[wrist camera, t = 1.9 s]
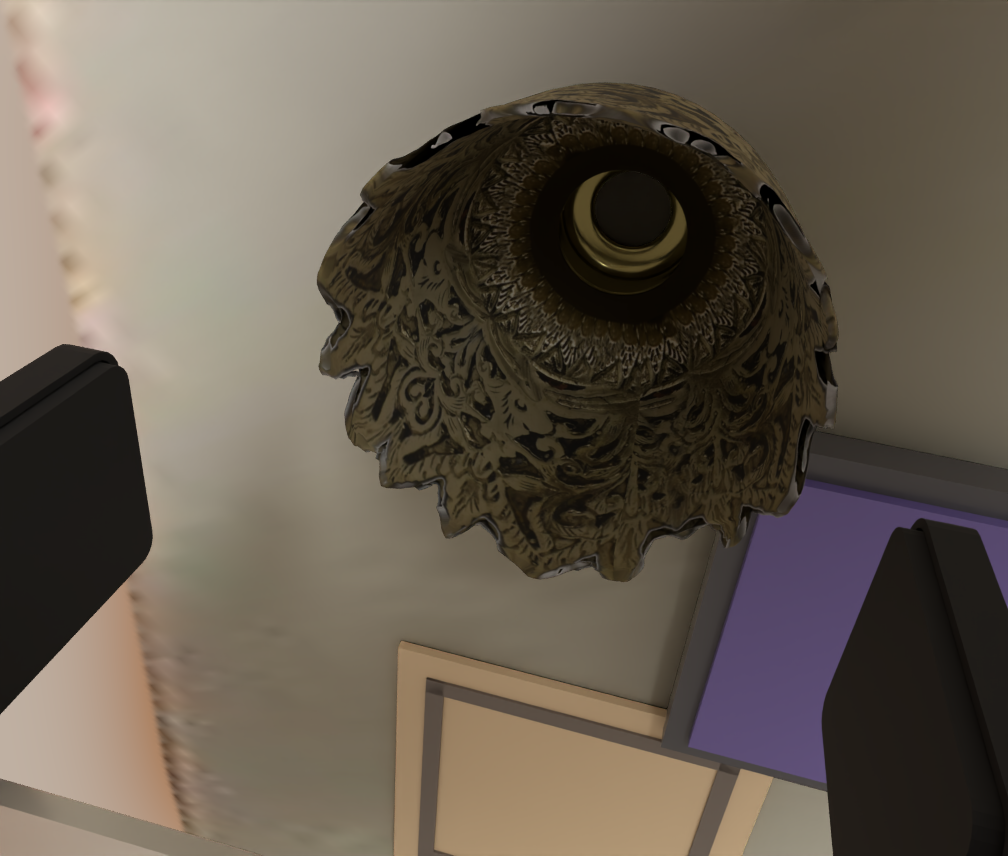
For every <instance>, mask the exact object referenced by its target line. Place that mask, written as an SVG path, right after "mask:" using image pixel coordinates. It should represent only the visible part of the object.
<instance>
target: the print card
mask: <svg viewBox="0 0 1008 856" xmlns="http://www.w3.org/2000/svg"><path fill="white" fill-rule="evenodd" d="M666 714H667V710H666V709H662V708H658V707H655V706H651V705H647V704H643V703H639V702H635V701H631V700H628V699H624V698H620V697H616V696H612V695H608V694H605V693H601V692H597V691H593V690H589V689H585V688H581V687H578V686H574V685H570V684H566V683H562V682H558V681H554V680H551V679H547V678H543V677H539V676H535V675H531V674H528V673H524V672H520V671H516V670H512V669H508V668H504V667H501V666H497V665H493V664H489V663H485V662H481V661H477V660H474V659H470V658H466V657H462V656H458V655H454V654H451V653H447V652H443V651H439V650H435V649H431V648H427V647H424V646H420V645H416V644H412V643H408V642H404V641H401V642H400V645H399V647H398V674H397V722H396V771H395V820H394V856H742V854H743V851H744V849H745V846H746V844H747V841H748V839H749V837H750V834H751V832H752V829H753V827H754V824H755V822H756V819H757V817H758V814H759V812H760V809H761V807H762V805H763V802H764V800H765V797H766V795H767V792H768V790H769V787H770V785H771V782H772V780H773V777H770V776H767V775H763V774H759V773H755V772H752V771H748V770H744V769H740V768H737V767H733V766H729V765H725V764H722V763H718V762H714V761H711V760H707V759H703V758H699V757H696V756H692V755H688V754H684V753H681V752H677V751H673V750H669V749H666V748H662V747H661V740H662V733H663V727H664V723H665V720H666Z"/></svg>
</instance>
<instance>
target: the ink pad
mask: <svg viewBox="0 0 1008 856" xmlns="http://www.w3.org/2000/svg"><path fill="white" fill-rule="evenodd" d="M920 518H925V519H929V520H934V521H939V522H944V523H949V524H954V525H959V526H964V527H969V528H973V529H975V530H977V531H978V533H979V534H980V536H981V539H982V541H983V544H984V547H985V549H986V552H987V555H988V557H989V560H990V563H991V565H992V568H993V571H994V573H995V576H996V579H997V581H998V584H999V587H1000V589H1001V592H1002V595H1003V597H1004V600H1005V603H1006V605H1007V608H1008V470H1007V469H1002V468H997V467H992V466H987V465H982V464H977V463H972V462H967V461H962V460H957V459H952V458H947V457H942V456H937V455H932V454H927V453H922V452H917V451H912V450H907V449H902V448H897V447H892V446H887V445H882V444H877V443H872V442H867V441H862V440H857V439H852V438H847V437H842V436H837V435H832V434H827V433H822V432H817V431H815V432H814V435H813V439H812V443H811V448H810V458H809V465H808V471H807V475H806V479H805V484H804V487H803V490H802V493H801V495H800V497H799V499H798V500H797V502H796V503H795V505H794V506H793V508H792V509H791V510H790V512H789V513H788V514H787V515H785V516H783V517H780V518H776V517H774V516H771V515H760V514H758V513H753V512H752V514H751V519H750V522H749V527H748V529H747V532H746V534H745V535H744V537H743V538H742V539H741V541H740V542H739V543H738V544H737V545H735V546H734V547H730V548H724V546H723V545H722V543H721V541H720V533H719V532H718V530H717V532H716V536H715V539H714V543H713V546H712V550H711V554H710V557H709V561H708V564H707V568H706V572H705V575H704V579H703V582H702V586H701V590H700V593H699V597H698V600H697V604H696V608H695V611H694V615H693V618H692V622H691V625H690V629H689V633H688V636H687V640H686V643H685V647H684V651H683V654H682V658H681V661H680V665H679V669H678V672H677V676H676V679H675V683H674V687H673V690H672V694H671V697H670V701H669V705H668V708H667V714H666V720H665V723H664V727H663V733H662V740H661V747H662V748H666V749H669V750H673V751H677V752H681V753H684V754H688V755H692V756H696V757H699V758H703V759H707V760H711V761H714V762H718V763H722V764H725V765H729V766H733V767H737V768H740V769H744V770H748V771H752V772H755V773H759V774H763V775H767V776H770V777H774V778H778V779H782V780H785V781H789V782H793V783H797V784H800V785H804V786H808V787H812V788H815V789H819V790H823V791H826V792H827V781H826V770H825V759H824V748H823V737H822V722H821V721H822V710H823V704H824V700H825V696H826V693H827V691H828V688H829V686H830V683H831V681H832V678H833V676H834V673H835V671H836V668H837V666H838V664H839V661H840V659H841V656H842V654H843V651H844V649H845V646H846V644H847V641H848V639H849V637H850V634H851V632H852V629H853V627H854V624H855V622H856V619H857V617H858V614H859V612H860V609H861V607H862V605H863V602H864V600H865V597H866V595H867V592H868V590H869V587H870V585H871V582H872V580H873V578H874V575H875V573H876V570H877V568H878V565H879V563H880V560H881V558H882V555H883V553H884V551H885V548H886V546H887V543H888V541H889V538H890V536H891V534H892V532H893V531H894V530H895V528H897V527H903V528H908V529H911V527H912V525H913V524H914V523H915V521H916V520H917V519H920Z"/></svg>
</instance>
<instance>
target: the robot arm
mask: <svg viewBox="0 0 1008 856" xmlns="http://www.w3.org/2000/svg"><path fill="white" fill-rule="evenodd" d="M152 539H153V534H152V526H151V520H150V513H149V507H148V500H147V494H146V487H145V481H144V475H143V468H142V462H141V455H140V449H139V442H138V436H137V430H136V423H135V417H134V410H133V404H132V397H131V391H130V385H129V379H128V375H127V373H126V371H125V370H124V369H123V368H122V367H120V366H118V362H117V361H116V359H115V358H114V356H113V355H111V354H110V353H108V352H104V351H99V350H94V349H89V348H85V347H80V346H75V345H68V344H62V345H60V346H57V347H55V348H54V349H52V350H51V351H49V352H47V353H46V354H44V355H42V356H41V357H39V358H37V359H36V360H34V361H33V362H31V363H29V364H28V365H26V366H25V367H23V368H21V369H20V370H18V371H17V372H15V373H13V374H12V375H10V376H9V377H7V378H5V379H4V380H2V381H0V714H1V713H2V712H3V711H4V710H5V709H6V708H7V706H8V705H9V704H10V703H11V702H12V701H13V700H14V699H15V698H16V697H17V696H18V695H19V694H20V693H21V692H22V691H23V690H24V688H25V687H26V686H27V685H28V684H29V683H30V682H31V681H32V680H33V679H34V678H35V677H36V676H37V675H38V674H39V672H40V671H41V670H42V669H43V668H44V667H45V666H46V665H47V664H48V663H49V662H50V661H51V660H52V659H53V658H54V656H55V655H56V654H57V653H58V652H59V651H60V650H61V649H62V648H63V647H64V646H65V645H66V644H67V643H68V642H69V640H70V639H71V638H72V637H73V636H74V635H75V634H76V633H77V632H78V631H79V630H80V629H81V628H82V627H83V626H84V625H85V623H86V622H87V621H88V620H89V619H90V618H91V617H92V616H93V615H94V614H95V613H96V612H97V610H98V609H100V607H101V606H102V605H103V604H104V603H105V602H106V601H107V600H108V599H109V598H110V597H111V596H112V595H113V594H114V593H115V591H116V590H117V589H118V588H119V587H120V586H121V585H122V584H123V583H124V582H125V581H126V580H127V579H128V578H129V577H130V575H131V574H132V573H133V572H134V571H135V570H136V569H137V568H138V567H139V566H140V565H141V564H142V563H143V561H144V560H145V559H146V557H147V555H148V553H149V551H150V548H151V545H152ZM821 722H822V737H823V748H824V759H825V770H826V781H827V792H828V803H829V814H830V825H831V836H832V847H833V856H1008V608H1007V605H1006V603H1005V600H1004V597H1003V595H1002V592H1001V589H1000V587H999V584H998V581H997V579H996V576H995V573H994V571H993V568H992V565H991V563H990V560H989V557H988V555H987V552H986V549H985V547H984V544H983V541H982V539H981V536H980V534H979V533H978V531H977V530H975V529H973V528H969V527H964V526H959V525H954V524H949V523H944V522H939V521H934V520H929V519H925V518H920V519H917V520H916V521H915V523H914V524H913V525H912V527H911V529H908V528H903V527H897V528H895V530H894V531H893V532H892V534H891V536H890V538H889V541H888V543H887V546H886V548H885V551H884V553H883V555H882V558H881V560H880V563H879V565H878V568H877V570H876V573H875V575H874V578H873V580H872V582H871V585H870V587H869V590H868V592H867V595H866V597H865V600H864V602H863V605H862V607H861V609H860V612H859V614H858V617H857V619H856V622H855V624H854V627H853V629H852V632H851V634H850V637H849V639H848V641H847V644H846V646H845V649H844V651H843V654H842V656H841V659H840V661H839V664H838V666H837V668H836V671H835V673H834V676H833V678H832V681H831V683H830V686H829V688H828V691H827V693H826V696H825V700H824V704H823V710H822V721H821ZM0 856H263V855H260V854H256V853H253V852H249V851H246V850H243V849H239V848H236V847H233V846H229V845H226V844H222V843H219V842H216V841H212V840H209V839H205V838H202V837H199V836H195V835H192V834H188V833H185V832H182V831H178V830H175V829H171V828H168V827H164V826H161V825H158V824H154V823H151V822H148V821H144V820H141V819H137V818H134V817H130V816H127V815H124V814H120V813H116V812H114V811H110V810H106V809H103V808H100V807H96V806H93V805H89V804H86V803H83V802H79V801H76V800H73V799H69V798H66V797H62V796H58V795H55V794H52V793H48V792H45V791H42V790H38V789H34V788H31V787H28V786H24V785H21V784H17V783H14V782H10V781H7V780H3V779H0Z"/></svg>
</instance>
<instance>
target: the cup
mask: <svg viewBox="0 0 1008 856" xmlns="http://www.w3.org/2000/svg"><path fill="white" fill-rule="evenodd" d="M629 171H634V172H639V173H642V174H645V175H648V176H650V177H652V178H654V179H656V180H657V181H659V182H660V183H661V184H662V186H663V187H664V188H665V190H666V192H667V193H668V196H669V199H670V203H671V215H670V219H669V222H668V225H667V227H666V228H665V230H664V231H663V233H662V234H661V235H660V236H659V237H658V238H656V239H655V240H653V241H652V242H650V243H648V244H645V245H641V246H625V245H621V244H618V243H616V242H614V241H612V240H611V239H610V238H608V237H607V236H606V235H605V234H604V233H603V232H602V230H601V229H600V227H599V225H598V223H597V221H596V217H595V200H596V197H597V194H598V192H599V190H600V189H601V187H602V186H603V185H604V184H605V182H607V181H608V180H609V179H610V178H612V177H613V176H615V175H617V174H620V173H623V172H629ZM360 196H361V198H362V200H363V201H364V203H363V204H362V205H361V206H360V207H359V208H358V210H357V211H356V212H355V214H354V215H353V216H352V217H351V218H350V219H349V220H348V221H347V222H346V223H345V224H344V225H343V226H342V228H341V229H340V231H339V232H338V233H337V235H336V236H335V238H334V240H333V241H332V243H331V245H330V247H329V249H328V251H327V252H326V254H325V256H324V259H323V261H322V264H321V267H320V270H319V272H318V276H317V285H318V289H319V291H320V293H321V295H322V296H323V298H324V300H325V301H326V304H328V305H330V306H331V308H332V309H333V311H334V313H335V316H336V319H337V320H338V322H339V323H338V325H337V327H336V328H335V330H334V332H333V333H332V334H331V335H330V336H328V338H327V339H326V342H325V345H324V347H323V348H322V350H321V356H320V363H319V370H320V372H321V374H322V375H327V376H330V377H332V378H334V379H337V378H342V379H345V378H346V377H347V376H352V377H355V376H356V375H357V376H358V377H357V379H356V381H355V383H354V385H353V388H352V390H351V393H350V396H349V399H348V403H347V406H346V409H345V413H344V414H345V425H346V431H347V434H348V437H349V439H350V440H351V442H352V443H353V445H354V446H358V447H360V448H361V449H362V450H364V451H365V452H370V451H372V452H375V453H377V455H376V459H378V460H379V461H380V471H379V479H380V484H381V486H382V487H385V488H397V489H401V488H410V487H415V488H417V489H418V490H422V489H425V488H428V487H430V486H432V484H437V485H438V505H437V510H438V513H439V516H440V521H441V528H442V531H443V534H444V536H445V538H453V537H455V536H457V535H459V534H462V533H464V532H465V531H467V530H469V529H470V528H471V527H473V526H474V525H481V526H482V527H483V528H484V529H485V530H487V531H488V532H489V533H490V534H491V535H492V536H493V537H494V539H495V540H496V544H497V548H498V551H499V552H501V553H502V554H503V555H504V556H506V557H507V558H508V559H509V560H511V561H512V562H513V563H515V564H516V565H517V566H518V567H519V568H520V569H521V570H522V571H523V572H524V573H525V574H526V575H527V576H528V577H531V578H535V579H546V578H551V577H555V576H558V575H560V574H563V573H566V572H568V571H571V570H577V571H578V570H581V569H584V568H587V567H592V566H593V568H595V570H597V571H598V572H599V573H600V575H601V576H602V578H604V579H608V580H612V581H620V582H627V581H629V580H631V579H632V578H633V577H635V576H636V575H637V574H638V573H639V572H640V571H641V570H642V569H643V567H644V559H645V555H646V553H647V552H648V550H649V548H650V547H651V545H652V543H653V541H654V540H655V539H659V538H664V537H666V536H672V537H676V538H678V539H681V540H683V539H686V538H688V537H689V536H691V535H692V534H693V533H694V532H695V531H696V530H697V529H698V528H703V527H704V526H705V525H710V526H711V528H712V529H713V530H714V531H715V530H718V532H719V533H720V541H721V543H722V545H723V546H724V548H730V547H734V546H735V545H737V544H738V543H739V542H740V541H741V539H742V538H743V537H744V535H745V534H746V532H747V529H748V527H749V522H750V519H751V514H752V512H753V513H758V514H760V515H771V516H774V517H776V518H780V517H783V516H785V515H787V514H788V513H789V512H790V510H791V509H792V508H793V506H794V505H795V503H796V502H797V500H798V499H799V497H800V495H801V493H802V490H803V487H804V484H805V479H806V475H807V471H808V465H809V458H810V448H811V443H812V439H813V435H814V432H815V429H816V426H819V427H824V428H828V427H829V428H832V429H833V428H834V425H835V422H836V412H837V391H838V385H837V383H836V381H835V379H834V377H833V372H832V367H831V361H830V357H829V352H836V351H837V340H838V335H839V331H838V324H837V319H836V315H835V311H834V307H833V304H832V299H831V293H830V288H829V286H828V285H827V283H826V282H825V280H826V279H827V276H826V273H825V271H824V268H823V266H822V264H821V262H820V260H819V259H818V257H817V255H816V253H815V252H814V250H813V248H812V247H811V245H810V243H809V242H808V240H807V238H806V237H805V235H804V233H803V231H802V229H801V226H800V224H799V222H798V220H797V218H796V215H795V213H794V211H793V209H792V207H791V205H790V203H789V202H788V200H787V198H786V196H785V194H784V192H783V191H782V189H781V187H780V186H779V184H778V182H777V181H776V179H775V178H774V176H773V174H772V173H771V171H770V170H769V168H768V167H767V165H766V164H765V163H764V162H763V160H762V159H761V158H760V157H759V155H758V154H757V153H756V152H755V150H754V149H753V148H752V147H751V146H750V145H749V144H748V143H747V142H746V141H745V140H744V139H743V138H742V137H741V136H740V135H739V134H738V133H737V132H736V131H735V130H734V129H732V128H731V127H730V126H729V125H727V124H726V123H725V122H723V121H722V120H721V119H719V118H718V117H717V116H715V115H714V114H712V113H711V112H709V111H707V110H706V109H704V108H702V107H701V106H699V105H697V104H695V103H693V102H691V101H689V100H686V99H684V98H682V97H680V96H677V95H675V94H672V93H668V92H665V91H662V90H659V89H655V88H651V87H645V86H639V85H634V84H622V83H590V84H579V85H574V86H568V87H563V88H557V89H552V90H548V91H545V92H542V93H539V94H536V95H532V96H529V97H526V98H523V99H520V100H517V101H514V102H510V103H508V104H505V105H500V106H494V107H489V108H486V109H483V110H481V113H480V114H478V115H475V116H473V117H471V118H469V119H467V120H465V121H462V122H460V123H457V124H455V125H452V126H450V127H448V128H446V129H445V130H443V131H442V132H441V133H440V134H438V135H437V136H436V137H434V138H433V139H431V140H429V141H428V142H427V143H425V144H424V145H423V146H421V147H420V148H419V149H417V150H415V151H413V152H411V153H409V154H408V155H406V156H403V157H400V158H396V159H393V160H391V161H389V162H388V163H387V164H386V165H385V166H384V167H383V168H381V169H380V170H379V171H378V172H377V173H376V174H375V175H374V177H373V178H372V179H371V180H370V181H369V182H368V183H367V184H366V185H365V186H364V188H363V189H362V191H361V193H360ZM358 368H359V372H358V371H353V370H355V369H358Z"/></svg>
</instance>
